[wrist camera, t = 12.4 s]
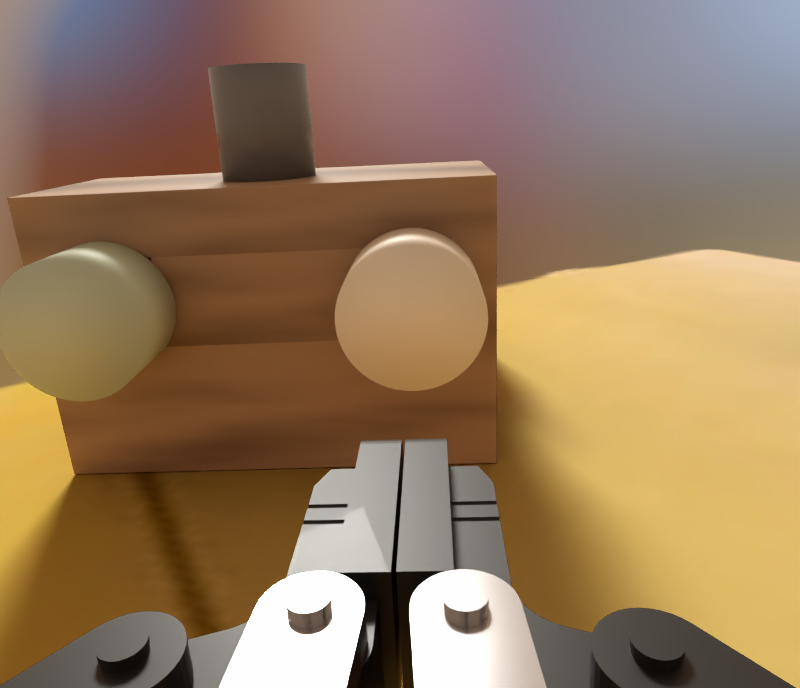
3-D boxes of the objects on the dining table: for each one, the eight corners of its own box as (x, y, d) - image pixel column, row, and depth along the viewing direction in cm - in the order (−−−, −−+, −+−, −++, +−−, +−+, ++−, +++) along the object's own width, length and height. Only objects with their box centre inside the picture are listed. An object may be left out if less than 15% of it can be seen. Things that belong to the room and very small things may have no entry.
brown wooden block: (496, 462, 26) (496, 174, 22) (74, 473, 27) (6, 197, 23) (481, 391, 32) (479, 160, 29) (143, 401, 33) (100, 178, 29)
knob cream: (488, 388, 21) (487, 241, 20) (340, 393, 21) (328, 247, 20) (466, 294, 32) (464, 195, 30) (368, 298, 32) (361, 199, 31)
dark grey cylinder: (329, 175, 25) (320, 62, 24) (236, 184, 23) (221, 63, 22) (297, 171, 28) (288, 70, 27) (213, 178, 26) (198, 71, 25)
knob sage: (155, 399, 22) (127, 256, 20) (14, 403, 22) (-25, 262, 20) (244, 303, 33) (230, 205, 31) (149, 306, 33) (131, 210, 31)
